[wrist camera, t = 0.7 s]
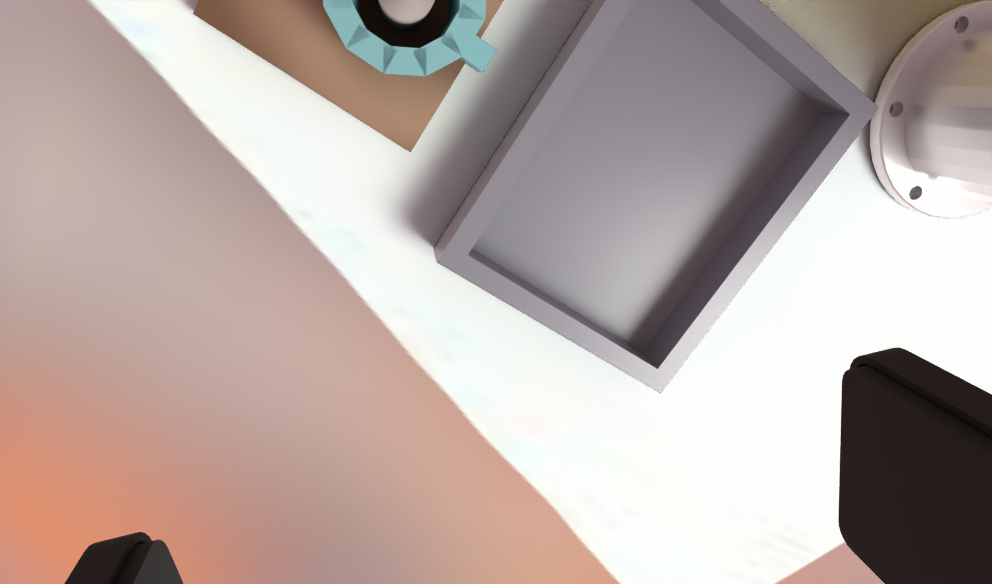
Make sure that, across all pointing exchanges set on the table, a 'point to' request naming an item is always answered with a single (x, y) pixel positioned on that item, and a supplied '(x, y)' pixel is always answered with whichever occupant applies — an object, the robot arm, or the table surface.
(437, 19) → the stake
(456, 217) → the tray
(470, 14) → the ring
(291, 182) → the table surface
